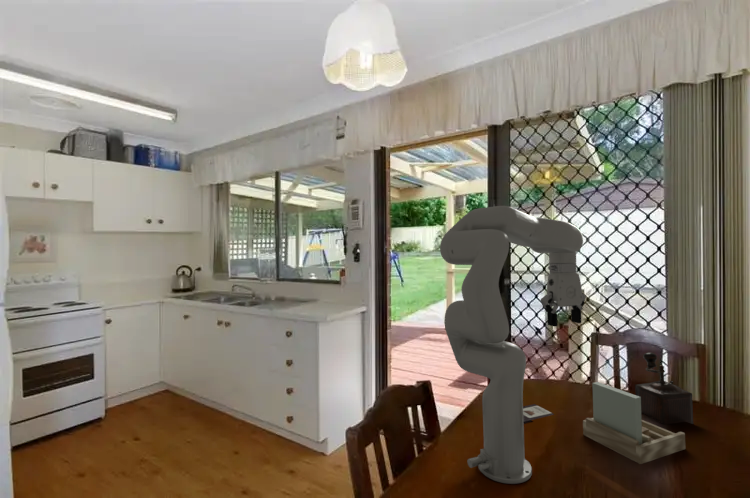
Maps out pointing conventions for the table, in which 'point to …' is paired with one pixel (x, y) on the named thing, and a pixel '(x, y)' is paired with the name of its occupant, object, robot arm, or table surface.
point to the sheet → (617, 410)
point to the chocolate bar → (534, 413)
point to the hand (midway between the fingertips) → (564, 324)
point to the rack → (636, 441)
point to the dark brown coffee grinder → (664, 397)
